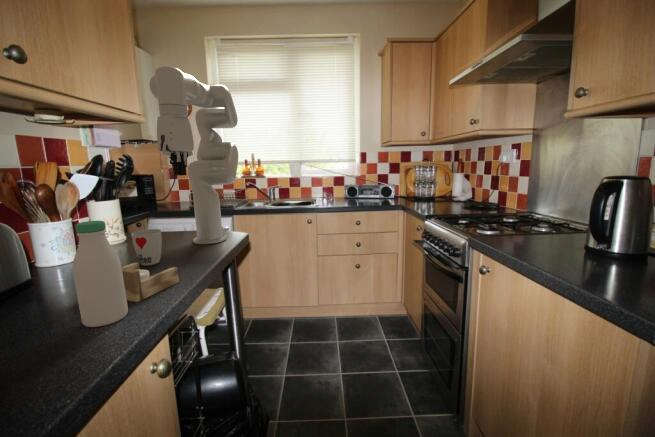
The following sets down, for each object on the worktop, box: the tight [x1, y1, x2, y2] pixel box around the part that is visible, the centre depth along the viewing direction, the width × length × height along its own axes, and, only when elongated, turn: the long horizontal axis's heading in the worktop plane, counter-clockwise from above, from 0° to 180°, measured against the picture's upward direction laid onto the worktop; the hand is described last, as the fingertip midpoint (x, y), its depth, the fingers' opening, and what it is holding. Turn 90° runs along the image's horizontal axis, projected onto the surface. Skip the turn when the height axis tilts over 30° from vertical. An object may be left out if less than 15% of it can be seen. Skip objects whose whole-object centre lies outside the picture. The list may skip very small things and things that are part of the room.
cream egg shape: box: [139, 268, 151, 280], centre depth 77 cm, size 7×7×4 cm
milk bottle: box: [72, 220, 129, 328], centre depth 61 cm, size 8×8×20 cm
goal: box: [121, 262, 180, 303], centre depth 78 cm, size 12×15×7 cm
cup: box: [130, 228, 163, 266], centre depth 97 cm, size 8×8×10 cm
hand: (180, 175), depth 95 cm, fingers closed
